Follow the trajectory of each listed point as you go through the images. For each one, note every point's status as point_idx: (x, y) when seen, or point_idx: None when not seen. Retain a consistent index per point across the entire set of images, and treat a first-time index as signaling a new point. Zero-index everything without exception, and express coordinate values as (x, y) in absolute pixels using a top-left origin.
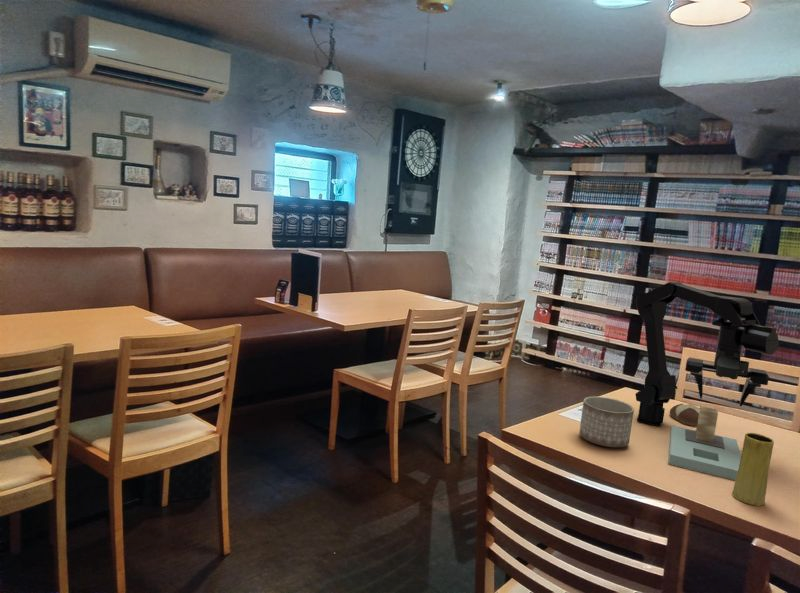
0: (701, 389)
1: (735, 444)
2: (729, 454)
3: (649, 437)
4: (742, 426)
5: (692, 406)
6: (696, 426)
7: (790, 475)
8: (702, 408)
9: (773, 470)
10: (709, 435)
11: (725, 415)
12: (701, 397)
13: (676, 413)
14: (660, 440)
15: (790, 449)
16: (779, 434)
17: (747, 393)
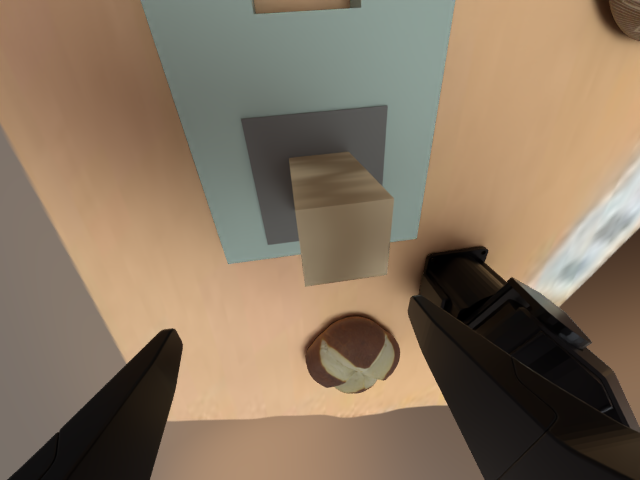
0: (465, 344)
1: (219, 213)
2: (209, 51)
3: (476, 135)
4: (247, 387)
5: (357, 385)
6: (337, 321)
7: (9, 120)
8: (380, 240)
9: (74, 127)
10: (307, 163)
11: (285, 412)
12: (417, 299)
13: (389, 340)
14: (443, 134)
15: (122, 341)
16: (175, 399)
17: (40, 465)
